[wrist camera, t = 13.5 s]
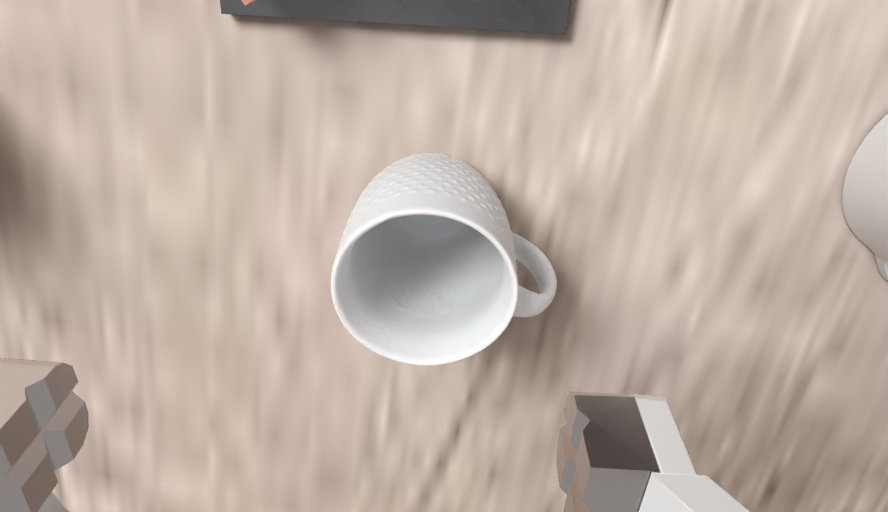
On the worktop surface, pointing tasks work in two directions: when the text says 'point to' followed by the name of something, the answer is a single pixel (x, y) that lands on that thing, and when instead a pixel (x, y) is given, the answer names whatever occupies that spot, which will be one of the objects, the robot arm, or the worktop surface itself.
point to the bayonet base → (420, 12)
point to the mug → (433, 264)
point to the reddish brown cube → (247, 1)
